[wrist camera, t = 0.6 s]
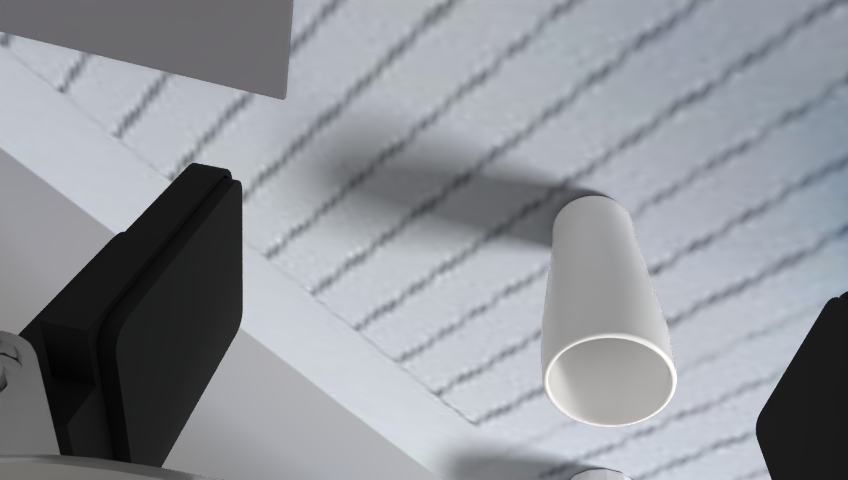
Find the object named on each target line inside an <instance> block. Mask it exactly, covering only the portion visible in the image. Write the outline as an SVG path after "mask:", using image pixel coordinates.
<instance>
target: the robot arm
mask: <svg viewBox="0 0 848 480" xmlns="http://www.w3.org/2000/svg"><path fill="white" fill-rule="evenodd" d="M242 311H243V282H242V185H241V182H240V181H238V180H233V179H232V175H231V172H230V171H229V170H228V169H224V168H218V167H213V166H208V165H203V164H198V163H192V164H190V165H189V166H188V167H187V168H186V169H185V170H184V171H183V172H182V173H181V174H180V175H179V176H178V177H177V178H176V179H175V180H174V181H173V182H172V183H171V185H170V186H169V187H168V188H167V189H166V190H165V191H164V192H163V193H162V194H161V195H160V196H159V197H158V198H157V199H156V200H155V201H154V202H153V203H152V204H151V205H150V206H149V207H148V208H147V209H146V210H145V212H144V213H143V214H142V215H141V216H140V217H139V218H138V219H137V220H136V221H135V222H134V223H133V224H132V225H131V226H130V227H129V228H128V229H127V230H126V231H125V232H120V233H119V234H117V235H116V236H115V237H114V238H112V239H111V240H110V241H109V242H108V243H107V245H105V247H104V248H103V249H102V250H101V251H100V252H99V253H98V254H97V255H96V256H95V257H94V258H93V259H92V260H91V261H90V262H89V263H88V264H87V265H86V266H85V267H84V268H83V269H82V270H81V271H80V272H79V273H78V274H77V275H76V276H75V277H74V278H73V279H72V280H71V281H70V282H69V283H68V284H67V285H66V287H65V288H64V289H63V290H62V291H61V292H60V293H59V294H58V295H57V296H56V297H55V298H54V299H53V300H52V301H51V302H50V303H49V304H48V305H47V306H46V307H45V308H44V309H43V310H42V311H41V312H40V313H39V314H38V315H37V316H36V317H35V318H34V319H33V320H32V321H31V322H30V323H29V324H28V325H27V326H26V328H24V329H23V330H22V331H21V332H20V334H19V335H15V334H12V333H9V332H4V331H0V480H223V479H217V478H212V477H207V476H201V475H196V474H190V473H185V472H180V471H175V470H169V469H164V468H161V467H162V465H163V463H164V461H165V460H166V458H167V456H168V454H169V452H170V451H171V449H172V447H173V445H174V444H175V442H176V440H177V438H178V436H179V435H180V433H181V431H182V429H183V427H184V426H185V424H186V422H187V421H188V419H189V417H190V415H191V413H192V412H193V410H194V408H195V406H196V404H197V403H198V401H199V399H200V397H201V395H202V394H203V392H204V390H205V389H206V387H207V385H208V383H209V381H210V380H211V378H212V376H213V374H214V372H215V371H216V369H217V367H218V365H219V363H220V362H221V360H222V358H223V357H224V355H225V353H226V351H227V350H228V348H229V346H230V344H231V342H232V340H233V339H234V337H235V335H236V333H237V331H238V329H239V326H240V323H241V319H242ZM756 436H757V440H758V443H759V445H760V448H761V451H762V454H763V457H764V459H765V462H766V465H767V468H768V471H769V473H770V476H771V479H772V480H848V292H845V293H844V294H842V295H841V296H840V297H839V298H838V297H835V298H832V299H830V300H829V301H828V302H827V303H826V305H825V306H824V308H823V310H822V311H821V313H820V315H819V316H818V318H817V320H816V321H815V323H814V325H813V326H812V328H811V330H810V331H809V333H808V335H807V336H806V338H805V340H804V341H803V343H802V344H801V346H800V348H799V349H798V351H797V353H796V354H795V356H794V358H793V359H792V361H791V363H790V364H789V366H788V368H787V369H786V371H785V373H784V374H783V376H782V378H781V379H780V381H779V383H778V384H777V386H776V388H775V389H774V391H773V393H772V394H771V396H770V398H769V399H768V401H767V403H766V404H765V406H764V408H763V409H762V411H761V413H760V414H759V417H758V419H757V423H756Z"/></svg>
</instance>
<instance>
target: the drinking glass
mask: <svg viewBox="0 0 848 480" xmlns="http://www.w3.org/2000/svg"><path fill="white" fill-rule="evenodd" d="M552 239H553V243H552V252H551V259H550V267H549V274H548V282H547V289H546V296H545V303H544V310H543V318H542V330H541V364H542V381H543V387H544V390H545V393H546V395H547V397H548V399H549V400H550V402H551V403H552V404H553V405H554V406H555V407H556V408H557V409H558V410H559V411H561V412H562V413H563V414H565V415H566V416H568V417H570V418H572V419H574V420H576V421H579V422H582V423H585V424H589V425H594V426H602V427H618V426H626V425H631V424H635V423H638V422H641V421H643V420H646V419H648V418H650V417H652V416H653V415H655V414H656V413H658V412H659V411H660V410H662V409H663V408H664V407H665V406H666V405H667V403H668V402H669V401H670V399H671V398H672V396H673V394H674V391H675V388H676V383H677V375H676V369H675V361H674V355H673V349H672V344H671V339H670V334H669V330H668V326H667V322H666V319H665V316H664V312H663V310H662V307H661V304H660V301H659V298H658V296H657V293H656V290H655V288H654V285H653V282H652V280H651V277H650V274H649V272H648V269H647V266H646V263H645V261H644V258H643V255H642V252H641V250H640V247H639V244H638V241H637V238H636V235H635V231H634V226H633V222H632V219H631V217H630V215H629V213H628V212H627V210H626V209H625V208H624V207H623V206H622V205H621V204H619V203H618V202H616V201H615V200H613V199H610V198H607V197H603V196H585V197H581V198H578V199H576V200H573V201H571V202H570V203H568V204H567V205H566V206H565V207H563V208H562V209H561V211H560V212H559V213H558V215H557V217H556V219H555V221H554V224H553V232H552Z"/></svg>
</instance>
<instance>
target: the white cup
mask: <svg viewBox="0 0 848 480" xmlns="http://www.w3.org/2000/svg"><path fill="white" fill-rule="evenodd" d="M570 480H632V479H630V478H629V477H627V476H626V475H624V474H623V473H620V472H616V471H612V470H608V469H596V470H587V471H585V472H582V473H579V474H576V475H574V476H573V477H572V478H571V479H570Z"/></svg>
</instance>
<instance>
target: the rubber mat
mask: <svg viewBox="0 0 848 480" xmlns="http://www.w3.org/2000/svg"><path fill="white" fill-rule="evenodd" d="M292 12H293V0H0V32H4V33H9V34H13V35H17V36H21V37H25V38H29V39H33V40H38V41H42V42H46V43H50V44H54V45H58V46H62V47H67V48H71V49H75V50H79V51H83V52H87V53H91V54H95V55H100V56H104V57H108V58H112V59H116V60H120V61H124V62H129V63H133V64H137V65H141V66H145V67H149V68H153V69H157V70H162V71H166V72H170V73H174V74H178V75H182V76H186V77H191V78H195V79H199V80H203V81H207V82H211V83H215V84H220V85H224V86H228V87H232V88H236V89H240V90H244V91H248V92H253V93H257V94H261V95H265V96H269V97H273V98H277V99H282V100H284V99H285V98H286V90H287V77H288V64H289V51H290V38H291V25H292Z"/></svg>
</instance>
